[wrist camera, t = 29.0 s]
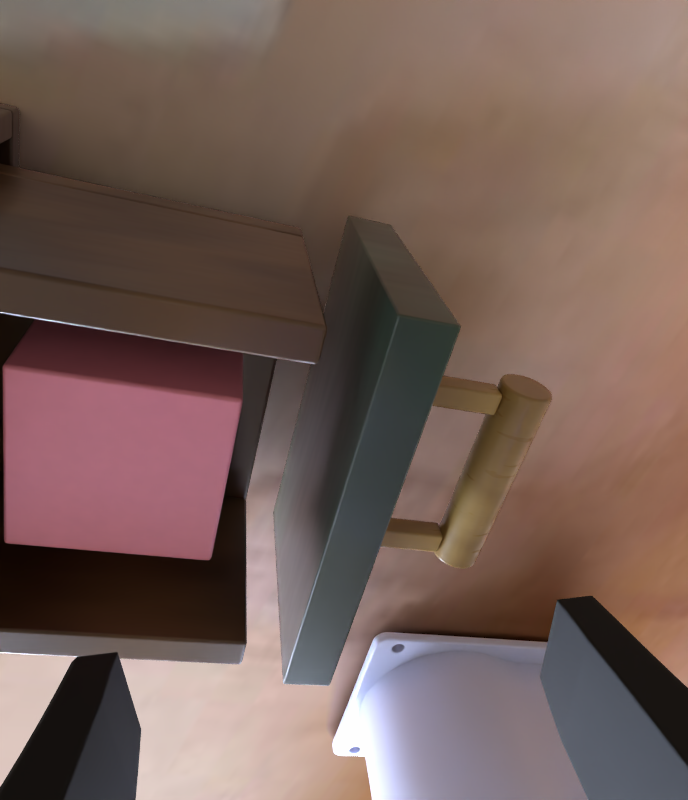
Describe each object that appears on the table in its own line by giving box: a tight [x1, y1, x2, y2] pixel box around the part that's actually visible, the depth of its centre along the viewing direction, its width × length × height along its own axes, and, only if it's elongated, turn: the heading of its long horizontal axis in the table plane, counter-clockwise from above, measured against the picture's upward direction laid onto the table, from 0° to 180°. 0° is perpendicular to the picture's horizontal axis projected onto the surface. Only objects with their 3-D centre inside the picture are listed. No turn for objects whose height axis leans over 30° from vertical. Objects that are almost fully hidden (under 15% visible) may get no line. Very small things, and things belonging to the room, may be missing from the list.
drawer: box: [0, 164, 552, 686], centre depth 15 cm, size 16×10×6 cm, turn 76°
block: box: [2, 319, 243, 560], centre depth 15 cm, size 4×4×4 cm
